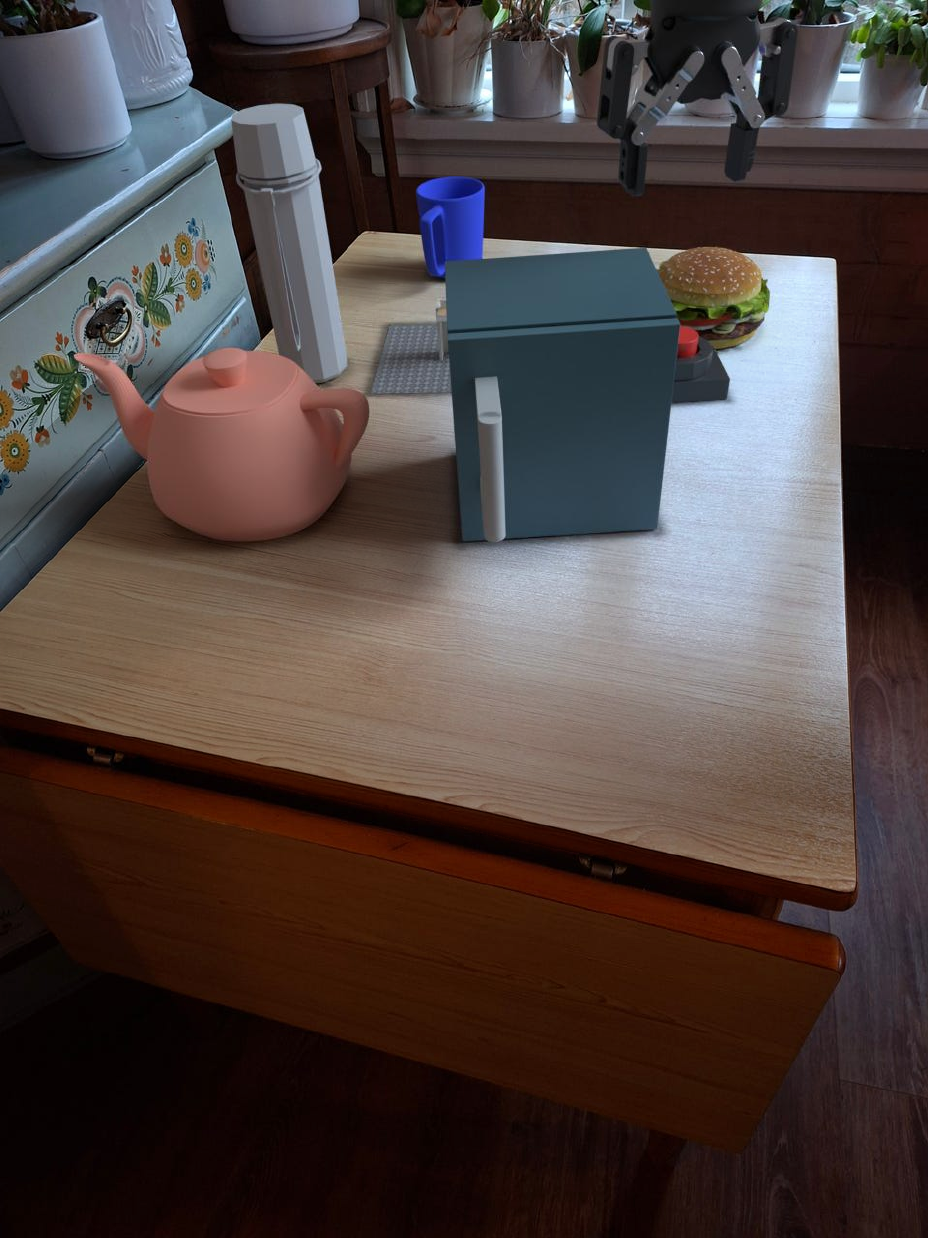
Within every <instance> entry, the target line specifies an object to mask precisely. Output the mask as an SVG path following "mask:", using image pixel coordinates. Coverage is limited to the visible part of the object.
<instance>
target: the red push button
mask: <svg viewBox="0 0 928 1238" xmlns="http://www.w3.org/2000/svg"><path fill="white" fill-rule="evenodd" d="M697 344H698V333H697V332H696V331H695V330H693V329H691V328H688V327H680V332H679V341H678V350H677V358H688V357H691V356H693V355H695V354H696V351H697Z"/></svg>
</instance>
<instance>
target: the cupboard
mask: <svg viewBox="0 0 928 1238" xmlns="http://www.w3.org/2000/svg"><path fill="white" fill-rule="evenodd" d="M656 269H657V268H656V265H655V263H654V261H653V260H652V257H651V254H650V253H649V250H648V248H647V247H636V248H635V247H634V248H633V247H632V248H621V249H620V248H619V249H604V250H593V251H578V252H575V251H574V252H562V253H561V252H560V253H549V254H534V255H533V254H532V255H518V256H504V257H490V258H482V259H474V260H459V261H445V278H444V282H445V283H444V284H445V299H446V310H447V333H448V334H452V333H467V332H482V331H496V330H511V329H526V328H541V327H555V326H570V325H585V324H599V323H614V322H629V321H643V320H658V319H673V318H677V314H676V311H675V309H674V307H673V305H672V303H671V301H670V298H669V296H668V294H667V292H666V290H665V287H664V285H663V283H662V281H661V279H660V277H659V274H658V272H657V270H656Z"/></svg>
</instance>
